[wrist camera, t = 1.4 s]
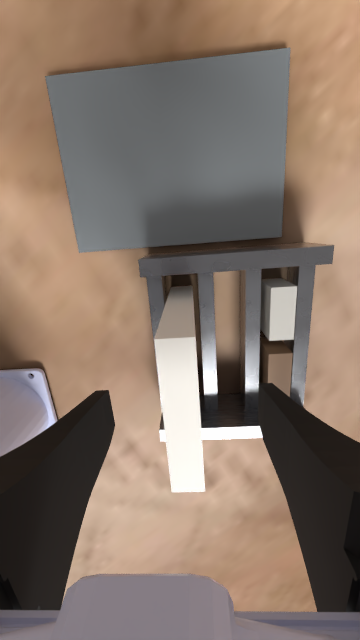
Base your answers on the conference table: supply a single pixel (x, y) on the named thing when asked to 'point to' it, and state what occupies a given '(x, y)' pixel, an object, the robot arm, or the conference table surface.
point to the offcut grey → (278, 309)
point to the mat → (174, 150)
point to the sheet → (180, 390)
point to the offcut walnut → (275, 364)
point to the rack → (242, 408)
